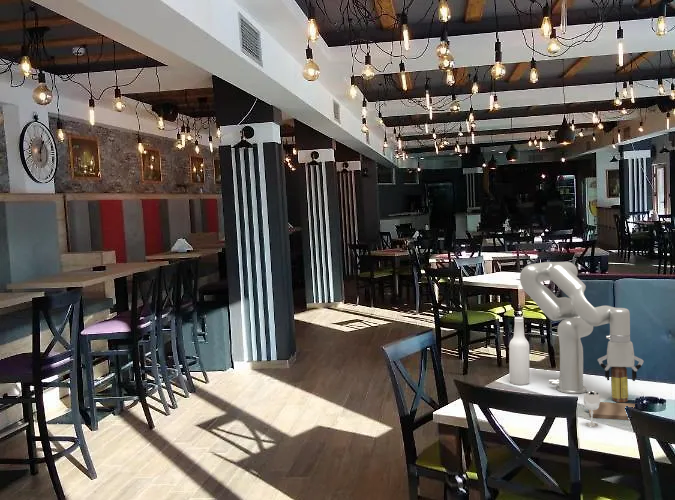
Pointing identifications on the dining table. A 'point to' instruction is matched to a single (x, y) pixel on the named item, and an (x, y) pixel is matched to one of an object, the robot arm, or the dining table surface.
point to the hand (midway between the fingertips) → (620, 379)
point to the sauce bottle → (619, 384)
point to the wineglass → (591, 404)
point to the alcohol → (519, 355)
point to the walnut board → (611, 411)
